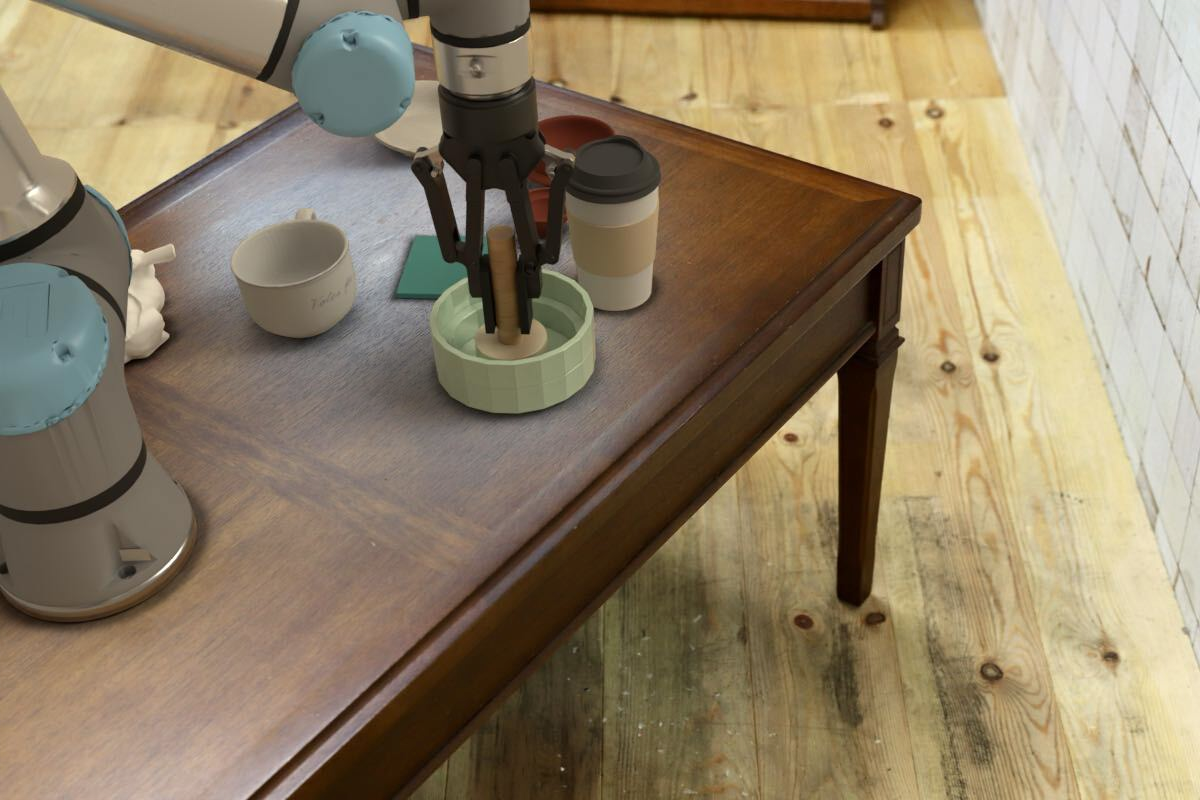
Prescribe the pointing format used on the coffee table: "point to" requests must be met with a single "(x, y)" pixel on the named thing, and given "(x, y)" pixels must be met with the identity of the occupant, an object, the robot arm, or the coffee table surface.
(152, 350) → the rabbit figurine
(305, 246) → the teacup
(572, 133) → the pottery
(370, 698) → the coffee table surface
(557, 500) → the coffee table surface
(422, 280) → the mat
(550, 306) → the bowl
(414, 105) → the pottery shard
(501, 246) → the wooden peg
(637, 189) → the coffee cup
